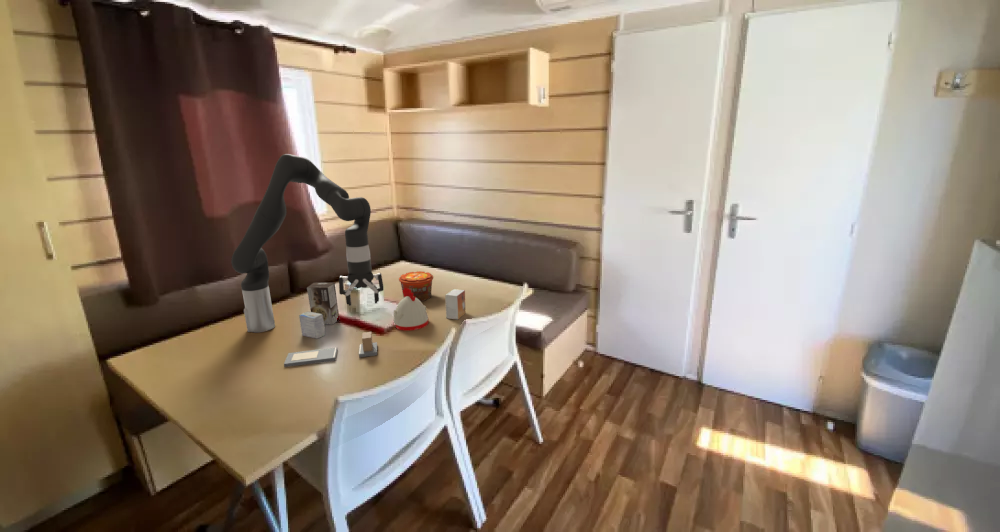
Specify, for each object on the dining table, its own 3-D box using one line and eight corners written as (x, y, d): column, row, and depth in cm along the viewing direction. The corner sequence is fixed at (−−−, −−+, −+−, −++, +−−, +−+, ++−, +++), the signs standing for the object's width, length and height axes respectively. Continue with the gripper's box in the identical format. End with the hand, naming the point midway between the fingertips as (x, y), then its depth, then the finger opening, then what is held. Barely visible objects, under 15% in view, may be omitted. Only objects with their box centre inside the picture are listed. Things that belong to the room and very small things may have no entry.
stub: (359, 357, 151) (357, 340, 149) (360, 347, 158) (358, 331, 157) (377, 355, 152) (375, 338, 151) (377, 345, 160) (375, 329, 158)
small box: (458, 320, 182) (457, 296, 179) (445, 318, 184) (444, 294, 181) (466, 313, 189) (465, 290, 186) (454, 311, 191) (453, 288, 188)
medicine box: (325, 334, 169) (323, 313, 167) (316, 339, 165) (313, 318, 163) (311, 331, 173) (308, 310, 170) (301, 335, 169) (298, 314, 166)
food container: (431, 303, 201) (430, 280, 198) (396, 303, 201) (395, 281, 198) (436, 291, 216) (435, 270, 214) (404, 291, 217) (402, 270, 214)
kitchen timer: (415, 314, 188) (413, 281, 184) (435, 323, 179) (433, 288, 175) (387, 323, 179) (384, 289, 175) (405, 333, 170) (403, 297, 165)
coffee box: (340, 318, 184) (335, 282, 180) (332, 324, 178) (328, 287, 174) (319, 318, 185) (314, 281, 181) (311, 324, 179) (306, 286, 175)
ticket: (284, 367, 145) (283, 363, 145) (288, 356, 153) (288, 352, 152) (335, 360, 149) (335, 357, 149) (337, 350, 157) (337, 346, 156)
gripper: (335, 262, 141) (340, 309, 145) (380, 259, 144) (384, 305, 149) (337, 257, 148) (342, 302, 152) (380, 254, 151) (384, 298, 156)
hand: (363, 303), depth 151 cm, fingers open, 8 cm apart
